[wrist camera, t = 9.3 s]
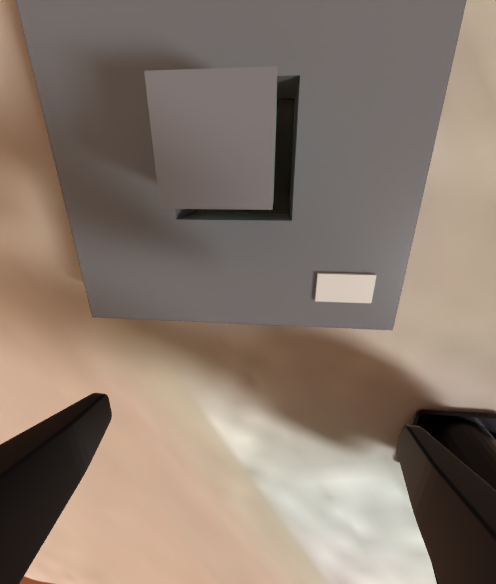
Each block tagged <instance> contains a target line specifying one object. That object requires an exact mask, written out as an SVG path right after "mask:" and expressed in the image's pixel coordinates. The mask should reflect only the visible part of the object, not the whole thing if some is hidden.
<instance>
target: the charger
mask: <svg viewBox="0 0 496 584" xmlns="http://www.w3.org/2000/svg"><path fill="white" fill-rule="evenodd" d="M144 74H145V83H146V91H147V100H148V109H149V117H150V126H151V135H152V144H153V152H154V161H155V170H156V179H157V187H158V196H159V205H160V209H244V210H272V209H273V199H274V175H275V146H276V113H277V66H270V67H241V68H211V69H182V70H152V71H144Z"/></svg>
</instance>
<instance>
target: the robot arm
mask: <svg viewBox="0 0 496 584" xmlns="http://www.w3.org/2000/svg"><path fill="white" fill-rule="evenodd" d="M111 417H112V412H111V408H110V403H109V398H108V396H107V395H106V394H101V393H93V394H91V395H89V396H87V397H85V398H84V399H82V400H80V401H78V402H76V403H75V404H73V405H71V406H69V407H67V408H66V409H64V410H62V411H60V412H58V413H57V414H55V415H53V416H51V417H49V418H48V419H46V420H44V421H42V422H40V423H38V424H37V425H35V426H33V427H31V428H29V429H28V430H26V431H24V432H22V433H20V434H19V435H17V436H15V437H13V438H11V439H10V440H8V441H6V442H4V443H2V444H1V445H0V584H19V583H20V582H21V580H22V578H23V576H24V575H25V573H26V571H27V570H28V568H29V566H30V565H31V563H32V561H33V560H34V558H35V556H36V555H37V553H38V551H39V550H40V548H41V546H42V545H43V543H44V541H45V540H46V538H47V536H48V535H49V533H50V531H51V530H52V528H53V526H54V524H55V523H56V521H57V519H58V518H59V516H60V514H61V513H62V511H63V509H64V508H65V506H66V504H67V503H68V501H69V499H70V498H71V496H72V494H73V493H74V491H75V489H76V488H77V486H78V484H79V483H80V481H81V479H82V477H83V476H84V474H85V472H86V470H87V468H88V466H89V465H90V463H91V460H92V458H93V456H94V454H95V452H96V450H97V448H98V446H99V444H100V442H101V440H102V438H103V436H104V434H105V431H106V429H107V427H108V425H109V423H110V421H111ZM397 453H398V457H399V461H400V465H401V468H402V472H403V476H404V479H405V483H406V487H407V491H408V494H409V498H410V502H411V505H412V509H413V512H414V515H415V518H416V521H417V524H418V527H419V529H420V532H421V535H422V538H423V540H424V543H425V546H426V548H427V551H428V554H429V556H430V559H431V562H432V566H433V570H434V574H435V577H436V581H437V584H496V415H491V414H476V413H461V412H447V411H432V410H421V411H419V412H417V414H416V416H415V420H414V423H413V425H404V426H403V428H402V431H401V434H400V437H399V441H398V444H397Z"/></svg>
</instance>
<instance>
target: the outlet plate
mask: <svg viewBox="0 0 496 584" xmlns="http://www.w3.org/2000/svg"><path fill="white" fill-rule="evenodd" d="M16 3H17V7H18V11H19V15H20V19H21V24H22V28H23V32H24V36H25V40H26V44H27V48H28V53H29V57H30V61H31V65H32V69H33V73H34V77H35V82H36V86H37V90H38V94H39V98H40V102H41V106H42V111H43V115H44V119H45V123H46V127H47V131H48V135H49V140H50V144H51V148H52V152H53V156H54V160H55V164H56V169H57V173H58V177H59V181H60V185H61V189H62V193H63V197H64V202H65V206H66V210H67V214H68V218H69V222H70V226H71V231H72V235H73V239H74V243H75V247H76V251H77V255H78V260H79V264H80V268H81V272H82V276H83V280H84V284H85V289H86V293H87V297H88V301H89V305H90V309H91V313H92V317H99V318H122V319H145V320H168V321H191V322H214V323H237V324H260V325H284V326H307V327H330V328H353V329H376V330H393V327H394V322H395V318H396V313H397V309H398V304H399V300H400V295H401V291H402V286H403V282H404V277H405V273H406V268H407V264H408V259H409V255H410V251H411V246H412V242H413V237H414V233H415V228H416V224H417V219H418V215H419V210H420V206H421V201H422V197H423V192H424V188H425V183H426V179H427V175H428V170H429V166H430V161H431V157H432V152H433V148H434V143H435V139H436V134H437V130H438V125H439V121H440V116H441V112H442V107H443V103H444V99H445V94H446V90H447V85H448V81H449V76H450V72H451V67H452V63H453V58H454V54H455V49H456V45H457V40H458V36H459V31H460V27H461V22H462V18H463V14H464V9H465V5H466V0H16ZM270 66H277V99H282V98H295V105H294V124H293V143H292V163H291V182H290V201H289V213H199V212H194V209H160V205H159V196H158V187H157V179H156V170H155V161H154V152H153V144H152V135H151V126H150V117H149V109H148V100H147V91H146V83H145V74H144V71H152V70H182V69H211V68H241V67H270Z"/></svg>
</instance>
